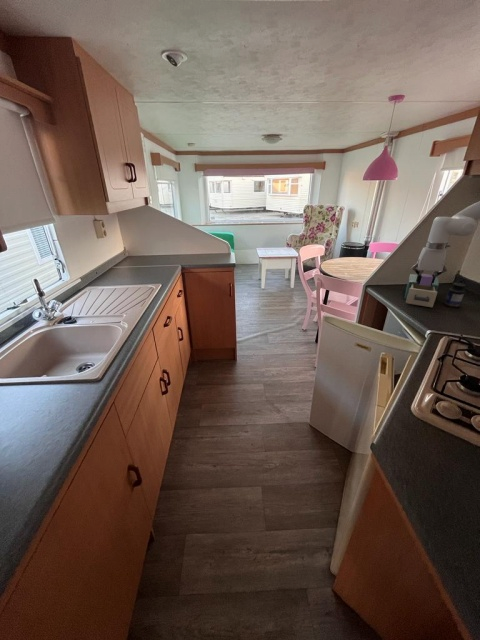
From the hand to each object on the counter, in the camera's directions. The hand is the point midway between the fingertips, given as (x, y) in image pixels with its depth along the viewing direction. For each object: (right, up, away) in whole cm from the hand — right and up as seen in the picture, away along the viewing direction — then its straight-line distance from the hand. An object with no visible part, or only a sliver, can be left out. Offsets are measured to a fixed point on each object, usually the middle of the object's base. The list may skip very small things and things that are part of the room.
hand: (424, 283), depth 129 cm
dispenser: (+6, -5, +14) cm, 16 cm away
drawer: (0, -9, +4) cm, 10 cm away
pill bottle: (+15, -11, +2) cm, 19 cm away
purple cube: (0, 0, 0) cm, 0 cm away
